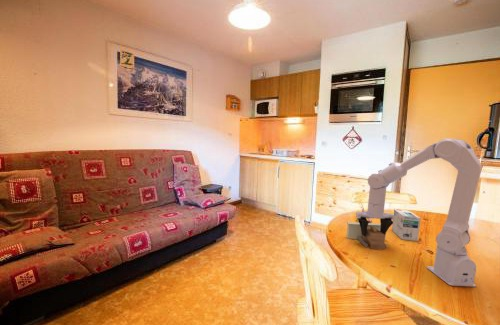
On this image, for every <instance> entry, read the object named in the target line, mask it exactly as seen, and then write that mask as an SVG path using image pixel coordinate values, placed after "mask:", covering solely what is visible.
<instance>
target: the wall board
mask: <svg viewBox="0 0 500 325" xmlns="http://www.w3.org/2000/svg"><path fill="white" fill-rule="evenodd" d="M346 224H347V228H346V238H347V240H348V239H349V240H350V239H353V240H357V241H358V242H359V243H360V244H362V245H363V247H364V248H369V247H368V244H367V243H366V242H365V241H364V240H363V239H362V238H361V235H362V232H361V227H360V223H359V222H349V221H348V222H347V223H346ZM367 227H375V228H376V229H378V230H379V231H380V227H381V223H373V222H371V223H370V222H369V223H368V226H367ZM386 235H387V233H386V234H385V237H386ZM386 248H387V244H385V243H384V249H386Z"/></svg>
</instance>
